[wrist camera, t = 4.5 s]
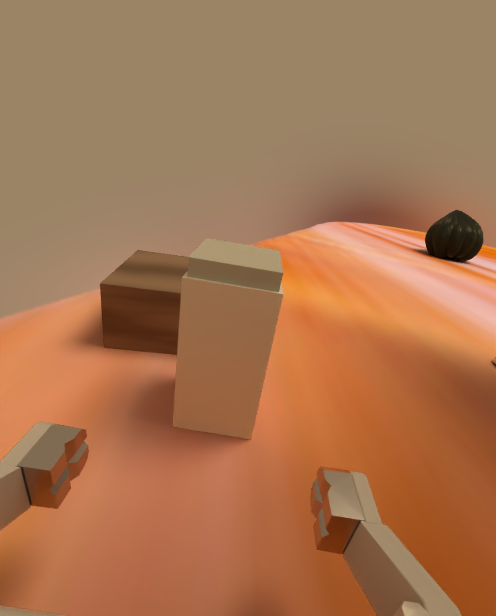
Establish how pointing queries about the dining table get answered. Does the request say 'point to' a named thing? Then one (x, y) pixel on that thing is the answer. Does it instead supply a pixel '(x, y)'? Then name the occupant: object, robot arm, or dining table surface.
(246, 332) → the tall cream box
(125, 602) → the dining table surface
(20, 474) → the robot arm
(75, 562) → the dining table surface
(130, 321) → the walnut block
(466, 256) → the squash
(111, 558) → the dining table surface
